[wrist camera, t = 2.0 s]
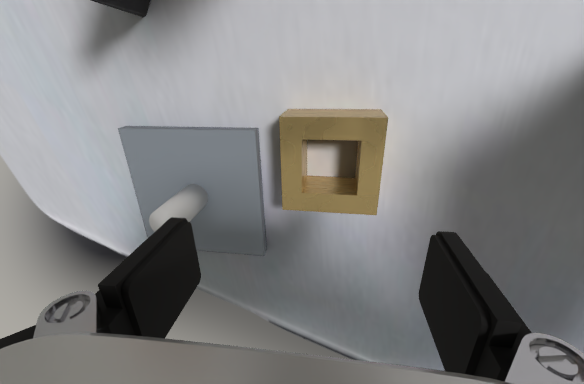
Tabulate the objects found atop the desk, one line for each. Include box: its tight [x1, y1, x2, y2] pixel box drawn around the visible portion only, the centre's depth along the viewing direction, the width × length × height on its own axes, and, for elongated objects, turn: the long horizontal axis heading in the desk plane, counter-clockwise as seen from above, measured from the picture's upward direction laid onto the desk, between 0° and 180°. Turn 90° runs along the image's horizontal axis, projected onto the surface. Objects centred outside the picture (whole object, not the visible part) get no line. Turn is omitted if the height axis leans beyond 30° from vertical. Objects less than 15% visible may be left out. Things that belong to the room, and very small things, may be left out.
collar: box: [279, 109, 388, 215], centre depth 21 cm, size 7×7×4 cm
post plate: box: [118, 126, 267, 256], centre depth 24 cm, size 12×12×6 cm
